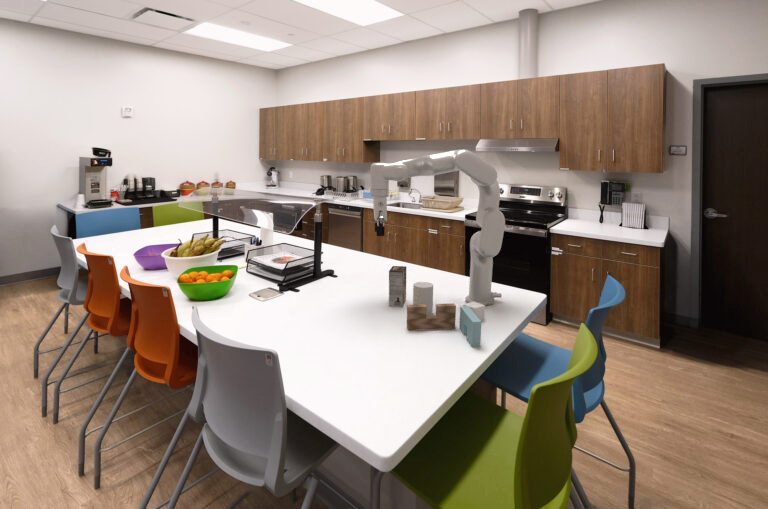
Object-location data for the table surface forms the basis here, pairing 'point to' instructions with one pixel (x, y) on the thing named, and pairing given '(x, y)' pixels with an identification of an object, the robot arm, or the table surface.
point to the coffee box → (397, 286)
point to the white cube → (477, 309)
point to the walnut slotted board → (431, 317)
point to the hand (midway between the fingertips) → (379, 233)
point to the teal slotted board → (470, 326)
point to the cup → (423, 295)
